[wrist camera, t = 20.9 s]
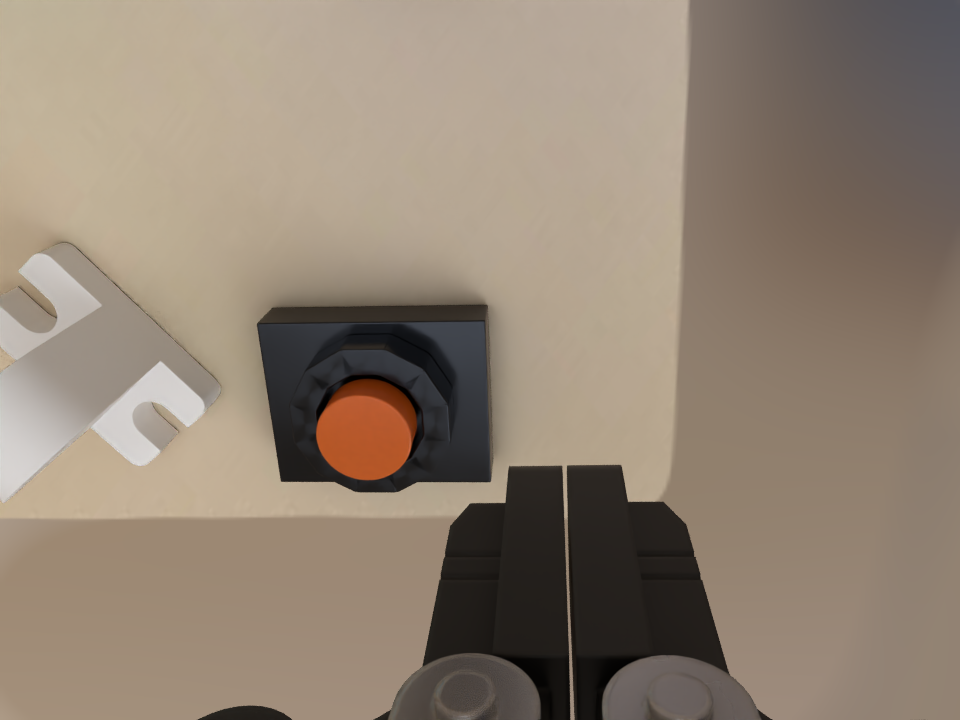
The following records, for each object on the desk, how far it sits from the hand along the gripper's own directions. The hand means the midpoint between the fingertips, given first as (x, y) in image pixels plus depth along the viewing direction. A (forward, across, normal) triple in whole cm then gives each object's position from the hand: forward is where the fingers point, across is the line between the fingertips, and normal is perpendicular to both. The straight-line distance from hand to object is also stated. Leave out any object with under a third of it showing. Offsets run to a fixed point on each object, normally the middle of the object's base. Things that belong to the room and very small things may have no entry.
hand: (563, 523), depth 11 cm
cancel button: (+21, +8, +9) cm, 24 cm away
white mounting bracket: (+25, +21, +6) cm, 33 cm away
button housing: (+25, +8, +9) cm, 27 cm away
